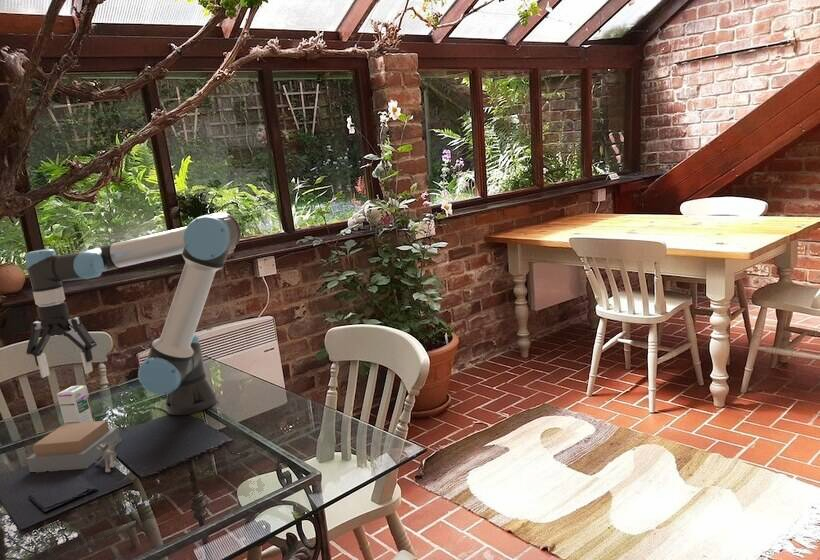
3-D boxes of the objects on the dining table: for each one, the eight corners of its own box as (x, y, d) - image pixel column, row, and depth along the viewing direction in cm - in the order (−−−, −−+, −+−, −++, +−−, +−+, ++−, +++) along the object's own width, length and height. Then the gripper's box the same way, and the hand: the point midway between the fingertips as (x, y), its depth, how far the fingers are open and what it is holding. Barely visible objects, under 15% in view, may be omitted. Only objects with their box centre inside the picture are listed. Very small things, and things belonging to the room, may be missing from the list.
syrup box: (84, 438, 182) (73, 391, 180) (67, 439, 184) (56, 392, 181) (98, 430, 188) (87, 384, 185) (81, 430, 189) (70, 385, 187)
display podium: (120, 440, 177) (115, 417, 176) (86, 468, 162) (80, 443, 160) (68, 445, 179) (62, 422, 178) (29, 472, 163) (23, 448, 162)
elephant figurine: (86, 479, 156) (85, 455, 163) (107, 487, 159) (105, 463, 166) (113, 450, 155) (110, 427, 162) (133, 458, 159) (130, 436, 166)
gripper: (99, 296, 181) (114, 366, 185) (20, 304, 184) (36, 373, 187) (84, 302, 174) (99, 375, 177) (1, 310, 176) (19, 382, 180)
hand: (67, 374), depth 182 cm, fingers open, 13 cm apart
